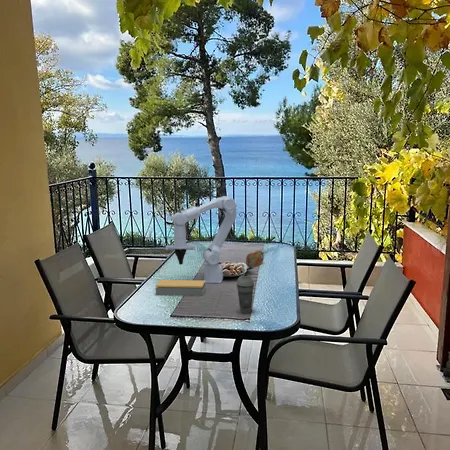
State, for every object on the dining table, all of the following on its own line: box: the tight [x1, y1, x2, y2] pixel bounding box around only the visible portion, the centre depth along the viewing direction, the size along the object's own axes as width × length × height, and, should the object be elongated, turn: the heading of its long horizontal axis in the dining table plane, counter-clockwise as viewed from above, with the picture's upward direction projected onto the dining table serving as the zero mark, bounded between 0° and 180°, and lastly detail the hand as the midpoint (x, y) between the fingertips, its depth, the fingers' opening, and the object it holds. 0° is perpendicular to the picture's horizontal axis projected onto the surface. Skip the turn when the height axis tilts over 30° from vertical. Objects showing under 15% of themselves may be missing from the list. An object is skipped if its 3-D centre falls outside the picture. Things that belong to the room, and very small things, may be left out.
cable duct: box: [155, 283, 206, 297], centre depth 202 cm, size 22×9×4 cm, turn 84°
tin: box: [245, 250, 265, 269], centre depth 243 cm, size 15×3×8 cm, turn 143°
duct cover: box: [155, 279, 206, 288], centre depth 201 cm, size 22×9×1 cm, turn 84°
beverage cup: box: [236, 263, 255, 314], centre depth 175 cm, size 7×7×20 cm
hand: (181, 264), depth 212 cm, fingers closed
